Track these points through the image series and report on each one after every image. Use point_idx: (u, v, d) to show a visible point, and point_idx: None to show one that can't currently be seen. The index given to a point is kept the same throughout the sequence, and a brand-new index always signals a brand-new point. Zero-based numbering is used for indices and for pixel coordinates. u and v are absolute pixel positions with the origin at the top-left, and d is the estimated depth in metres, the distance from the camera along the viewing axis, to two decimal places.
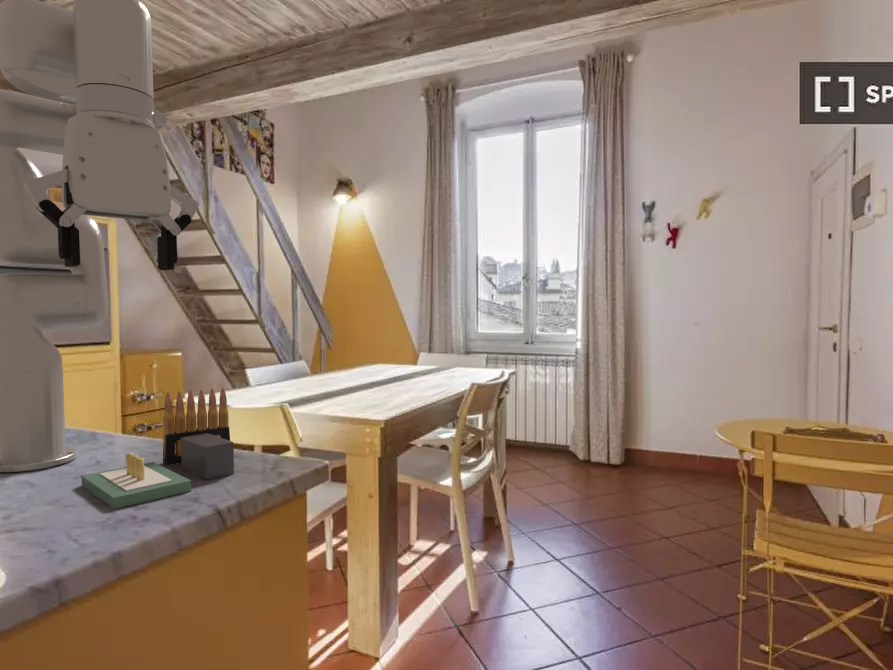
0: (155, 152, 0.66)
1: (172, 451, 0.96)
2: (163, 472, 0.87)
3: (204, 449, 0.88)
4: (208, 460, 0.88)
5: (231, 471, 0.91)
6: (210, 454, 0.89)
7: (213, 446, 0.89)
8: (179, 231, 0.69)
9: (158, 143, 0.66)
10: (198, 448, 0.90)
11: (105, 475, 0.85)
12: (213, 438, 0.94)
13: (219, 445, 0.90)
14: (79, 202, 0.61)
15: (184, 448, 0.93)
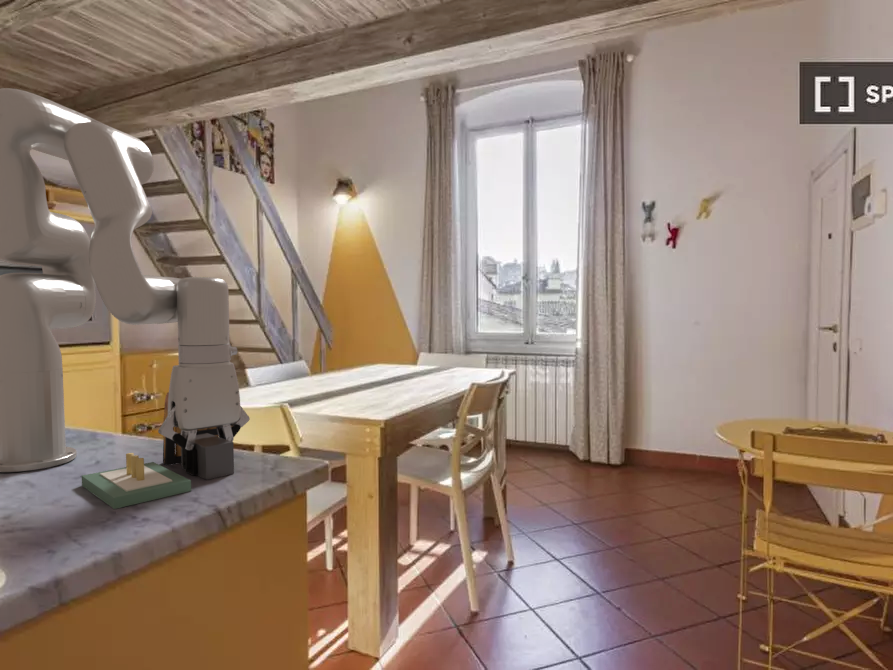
0: (231, 380, 0.93)
1: (172, 451, 0.96)
2: (163, 472, 0.87)
3: (204, 449, 0.88)
4: (208, 460, 0.88)
5: (231, 471, 0.91)
6: (210, 454, 0.88)
7: (213, 446, 0.89)
8: (232, 439, 0.94)
9: (233, 373, 0.93)
10: (198, 448, 0.90)
11: (105, 475, 0.85)
12: (213, 438, 0.94)
13: (219, 445, 0.90)
14: (182, 427, 0.88)
15: None
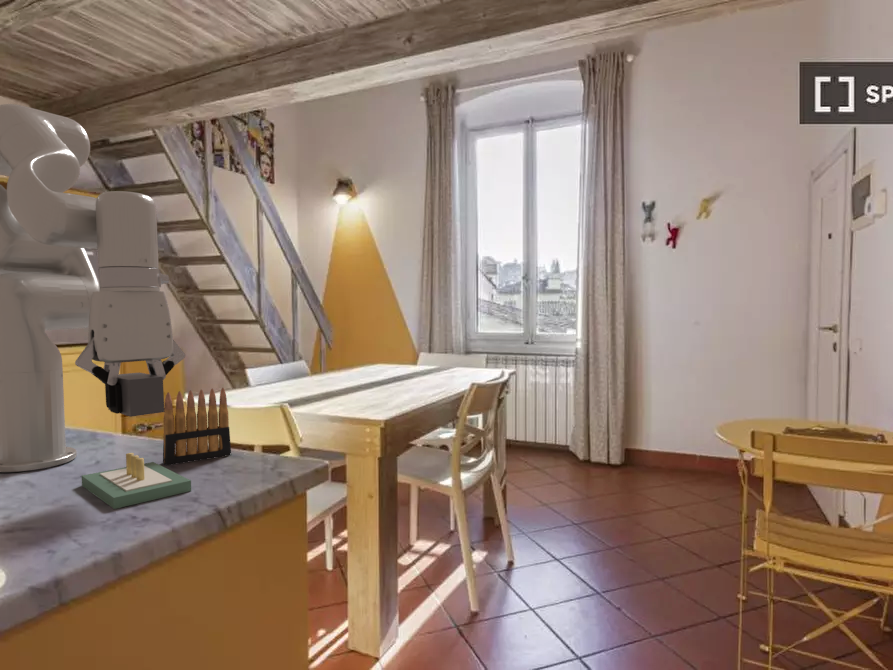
0: (160, 310, 0.83)
1: (172, 451, 0.96)
2: (163, 472, 0.87)
3: (127, 382, 0.79)
4: (132, 395, 0.79)
5: (161, 409, 0.81)
6: (135, 388, 0.79)
7: (138, 379, 0.79)
8: (164, 376, 0.85)
9: (162, 302, 0.84)
10: (122, 382, 0.80)
11: (105, 475, 0.85)
12: (142, 375, 0.84)
13: (146, 379, 0.80)
14: (102, 358, 0.78)
15: None
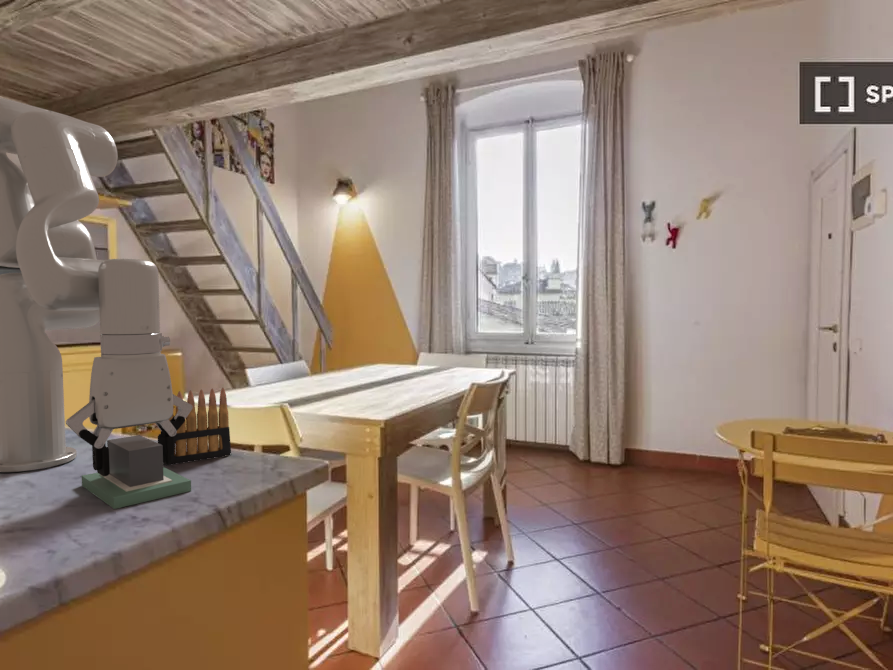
0: (161, 374, 0.84)
1: None
2: (163, 472, 0.87)
3: (127, 453, 0.79)
4: (132, 465, 0.79)
5: (160, 477, 0.82)
6: (134, 459, 0.80)
7: (138, 450, 0.80)
8: (175, 432, 0.87)
9: (163, 366, 0.84)
10: (122, 452, 0.81)
11: None
12: (142, 441, 0.85)
13: (145, 449, 0.81)
14: (103, 426, 0.79)
15: (110, 452, 0.84)
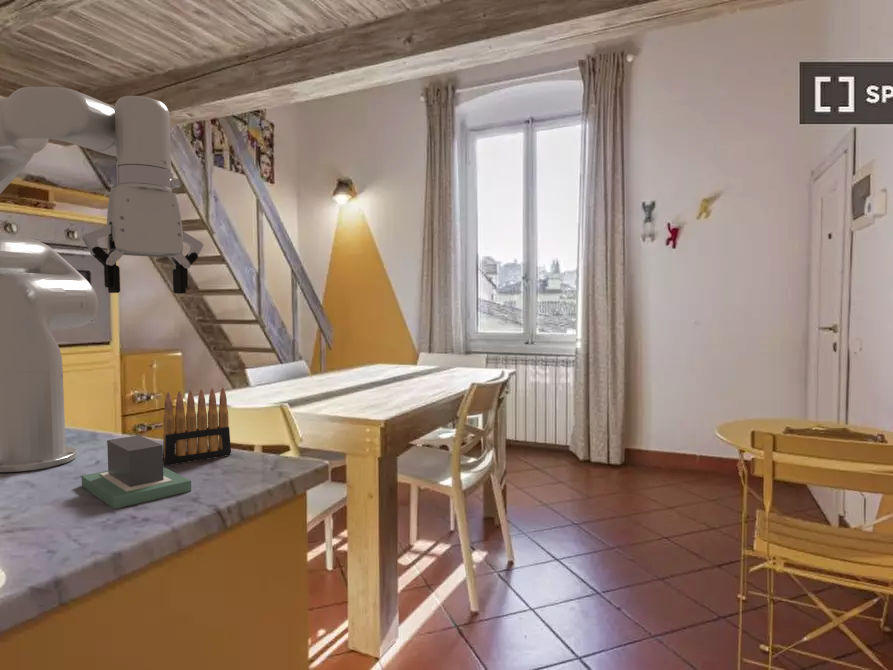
0: (172, 209, 0.91)
1: (172, 451, 0.96)
2: (163, 472, 0.87)
3: (127, 453, 0.79)
4: (132, 465, 0.79)
5: (160, 477, 0.82)
6: (134, 459, 0.80)
7: (138, 450, 0.80)
8: (189, 265, 0.94)
9: (174, 203, 0.91)
10: (122, 452, 0.81)
11: (105, 475, 0.85)
12: (142, 441, 0.85)
13: (145, 449, 0.81)
14: (119, 248, 0.86)
15: (110, 452, 0.84)
